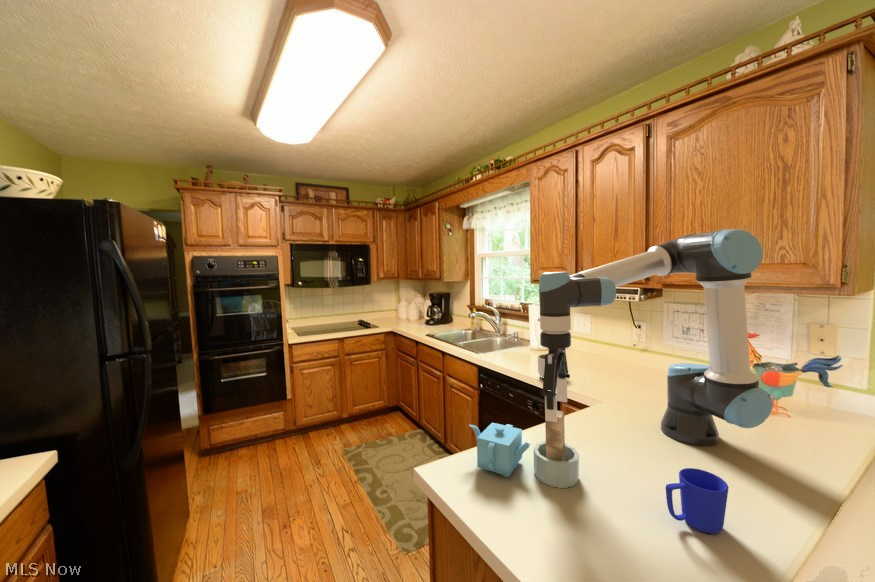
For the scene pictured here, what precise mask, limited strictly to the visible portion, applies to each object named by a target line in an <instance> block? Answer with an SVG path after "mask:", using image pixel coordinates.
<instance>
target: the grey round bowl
mask: <svg viewBox="0 0 875 582" xmlns="http://www.w3.org/2000/svg"><path fill="white" fill-rule="evenodd" d="M533 471H534V475H535V477H536V479H537V478H538V479H539V480H540V482H541V483H542V482H543V483H542V484H544V483H545V484H544V485H546V486H548V485H549V487H551V486H552V487H551V488H554V487H558V488H557V489H569V488H568V487H570V488H573V487H574V485H575V484H576V485H577V484H578V483H579V476H580V454H579V452H578V451H577V450H576V448H575V447H573V446H571V445H568V444H567V443H565V461H554V460H550V459H547V458H546V440H545V441H541V442H538V443H536V444H535V446H534V447H533ZM538 479H537V480H538ZM539 480H538V481H539ZM577 482H578V483H577ZM576 485H575V486H576ZM572 486H573V487H572Z"/></svg>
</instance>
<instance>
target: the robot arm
mask: <svg viewBox="0 0 875 582" xmlns="http://www.w3.org/2000/svg"><path fill="white" fill-rule="evenodd" d="M763 256H764V252H763V247H762V244H761V242H760V241H759V239H758V238H757V237H756V235H753V234H752V233H751V231H750V232H749V231H748V230H745V229H739V228H738V229H737V228H735V229H734V228H733V229H720V230H714V231H708V232H701V233H700V232H699V233H691V234H686V235H683V236H680V237H676V238H675V239H674V238H673V239H671V240H668V241H665V242H663V243H660V244H656V245H654V246H652V247H649V248H648V249H647V251H645V252H642V253H638V254H636V255H632V256H628V257H625V258H622V259H620V260H615V261H612V262H610V263H609V262H608V263H605V264H602V265H599V266H596V267H592V268H590V269H586V270H583V271H580V272H576V273H574V274H570V273H569V272H568V271H554V272H553V271H551V272H547V271H546V272H542V273H540V275H539V277H538V278H539V281H538V294H539V295H538V297H539V301H538V302H539V317H538V319H537V321H538V322H539V326H540V327H539V328H540V330H541V331H540V333H539V334H540V335H539V336H540V337H539V339H540V340H539V341H540V345H541V346H542V347H544V348H546V349H548V352H547V353H546V354H547V355H545V368H544V379H543V381H542V382H543V383H542V391H541V392H540V395H541V396H544V415H545V416H544V417H545V418H544V420H546V421H551V422H556V423H557V410H558V402H562V403H568V381H567V380H568V379H570V378H571V376H570V375H571V374H570V373H569V369H568V360H567V352H566V349H568V348H570V347H571V346H572V339H571V338H572V335H571V333H570V330H571V329H572V326H571V325H572V324H571V323H572V322H571V308H583V307H585V308H586V307H587V308H588V307H603V306H609V305H611V304H613V303H614V301H615V300H616V297H617V287H621V286H625V285H627V284H630V283H634V282H637V281H640V280H643V279H646V278H649V277H652V276H658V277H664V276H667V275H672V274H673V275H674V274H687V273H688V274H695V282H696V283H698V284H699V285H701V286H702V287H703V294H704V295H703V297H704V308H705V310H704V311H705V320H706V321H705V322H706V335H707V346H708V357H709V359H708V360H709V365H707V364H701V363H681V362H680V363H673V364H671V365H669V367H668V369H667V375H666V377H667V379H666V380H667V407H666V410H665V412H664V414H663V416H662V419H661V421H660V430H661V431H662V433H663V434H664V435H666V436H668V437H670V438H671V439H674V440H676V441H678V442H682V443H685V444H689V445H695V446H705V447H706V446H707V447H709V446H710V447H711V446H714V445H717V444H718V443H719V442H720V434H719V430H718V427H717V426H716V422H715V419H714V418H713V416H714V417H716V418H718V419H721V420H723V421H725V422H726V423H727V424H730V425H734V426H737V427H739V428H741V429H743V428H744V429H752V428H757V427H758V426H760V425H762V424H763V423H764V422H765V421H766V420H767V419H768V418H769V417H770V415H771V413H772V411H773V408H774V401H773V397H772V395H771V394H770V393H769V392H768V391H766V390H765V389H763V388H760V381H759V376H758V375H757V374H755V373H754V372H753V371H752V370H751V362H750V349H749V348H750V347H749V334H748V332H749V331H748V319H747V306H746V305H747V304H746V303H747V302H746V290H745V285H746V284H747V283H748V282H749V281H750V280H751V279H752V273H753V272H754V271H756V270H757V269H758V268H759V267H760V263H762V262H763V258H764V257H763ZM558 377H559V378H558Z"/></svg>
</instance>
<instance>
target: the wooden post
mask: <svg viewBox="0 0 875 582" xmlns="http://www.w3.org/2000/svg"><path fill="white" fill-rule="evenodd" d="M544 420H545V419H544ZM544 423H545V426H544V427H545V441H546V458H547V459H550V460H554V461H565V444H566V442H565V440H566V439H565V434H566V433H565V432H566V431H565V411H562V410H558V409H557V423H556V422H551V421H546V420H545V422H544Z"/></svg>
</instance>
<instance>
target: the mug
mask: <svg viewBox="0 0 875 582" xmlns="http://www.w3.org/2000/svg"><path fill="white" fill-rule="evenodd" d="M678 480H679V483H678V482H674V483H667V484H666V485H665V495H666V496H665V497H666V504H667V509H668V512H669V514H670V516H671V517H672V518H673V519H675V520H676V521H679V522H680V521H685V522H686V523H687V524H688V525H689V526H690V527H692V528H694V529H695V530H697V531H699V532H701V533H704V534H709V535H710V534H711V535H715V534H719V533H721V532H722V530H723V529H724V526H725V517H726V509H727V501H728V495H729V485H728V483H727V482H726V481H725V479H723V478H722V477H720V476H718V475H716V474H714V473H712V472H709V471H706V470H703V469H700V468H693V467H687V468H686V467H685V468H683V469H681V470H679V472H678ZM676 490H679V492H680V503H681V504H680V506H681V514H676V513H675V510H674V509H675V508H674V504H673V503H674V502H673V501H674V500H673V491H676Z"/></svg>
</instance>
